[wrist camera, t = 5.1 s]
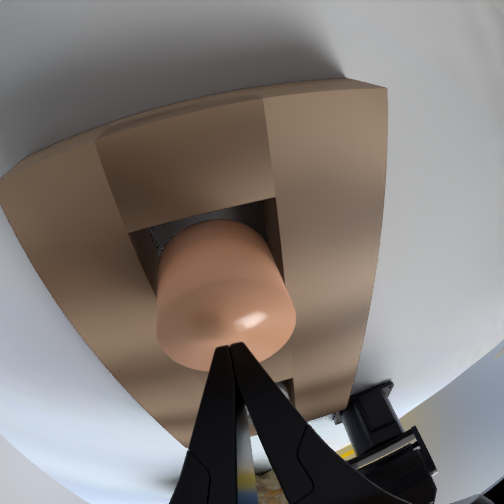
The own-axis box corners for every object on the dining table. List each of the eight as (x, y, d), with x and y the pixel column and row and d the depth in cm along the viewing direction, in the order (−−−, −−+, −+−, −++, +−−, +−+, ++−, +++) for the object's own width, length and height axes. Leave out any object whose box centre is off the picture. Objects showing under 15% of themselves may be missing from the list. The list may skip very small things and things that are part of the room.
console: (334, 381, 26) (346, 408, 23) (182, 418, 25) (185, 447, 22) (347, 78, 11) (387, 88, 9) (25, 157, 10) (-8, 185, 8)
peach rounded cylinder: (276, 295, 14) (298, 353, 11) (177, 318, 13) (181, 381, 11) (264, 206, 11) (292, 262, 8) (142, 236, 11) (133, 300, 8)
